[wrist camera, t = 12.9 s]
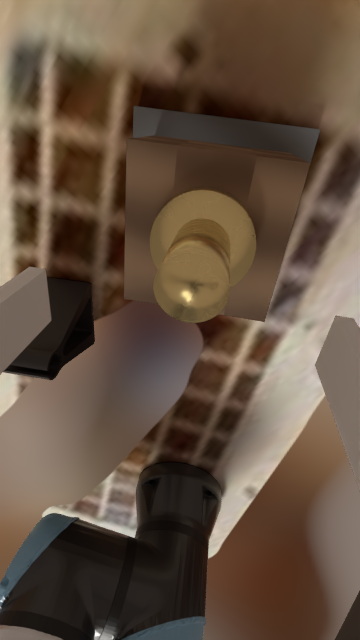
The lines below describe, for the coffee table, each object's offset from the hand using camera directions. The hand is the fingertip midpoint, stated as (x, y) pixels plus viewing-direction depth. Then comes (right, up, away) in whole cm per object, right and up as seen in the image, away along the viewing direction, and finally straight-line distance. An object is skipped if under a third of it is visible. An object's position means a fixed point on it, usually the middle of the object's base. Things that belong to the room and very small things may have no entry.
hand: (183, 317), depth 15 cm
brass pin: (+3, +10, +16) cm, 19 cm away
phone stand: (-14, +1, +27) cm, 31 cm away
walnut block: (+3, +11, +18) cm, 22 cm away
